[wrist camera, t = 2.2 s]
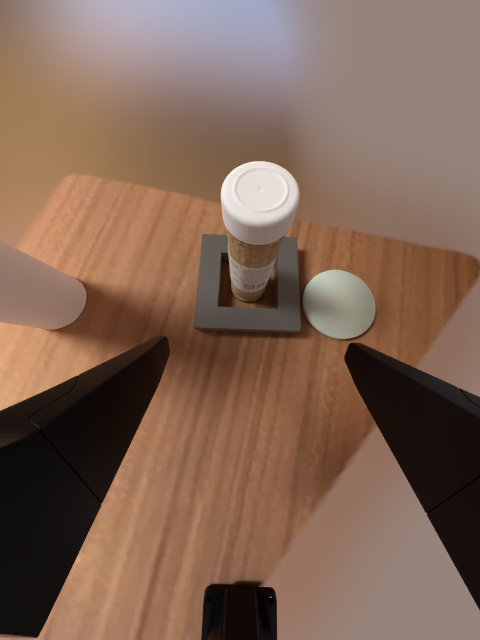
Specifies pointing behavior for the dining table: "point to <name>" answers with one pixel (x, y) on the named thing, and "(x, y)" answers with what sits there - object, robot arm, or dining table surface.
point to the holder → (247, 319)
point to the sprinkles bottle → (256, 223)
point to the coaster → (338, 304)
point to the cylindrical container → (37, 292)
